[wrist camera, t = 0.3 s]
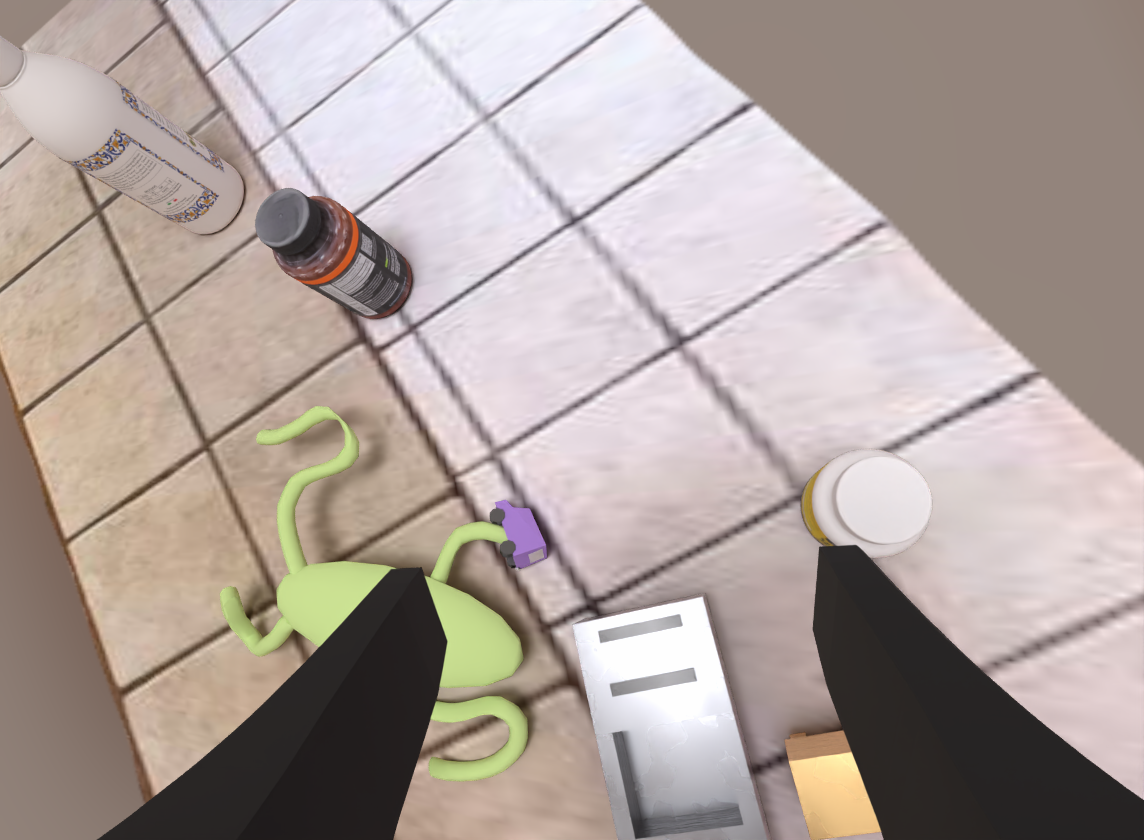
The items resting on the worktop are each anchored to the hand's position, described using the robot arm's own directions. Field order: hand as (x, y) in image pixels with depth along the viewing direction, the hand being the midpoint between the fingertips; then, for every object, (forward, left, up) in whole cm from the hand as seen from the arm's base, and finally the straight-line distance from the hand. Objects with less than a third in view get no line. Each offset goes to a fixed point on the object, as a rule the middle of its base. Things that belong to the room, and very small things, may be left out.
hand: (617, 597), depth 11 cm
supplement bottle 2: (+1, -9, -29) cm, 30 cm away
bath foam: (+40, +34, -29) cm, 60 cm away
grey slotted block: (-11, +5, -29) cm, 31 cm away
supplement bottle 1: (+26, +19, -29) cm, 43 cm away
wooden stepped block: (-12, -4, -29) cm, 31 cm away
